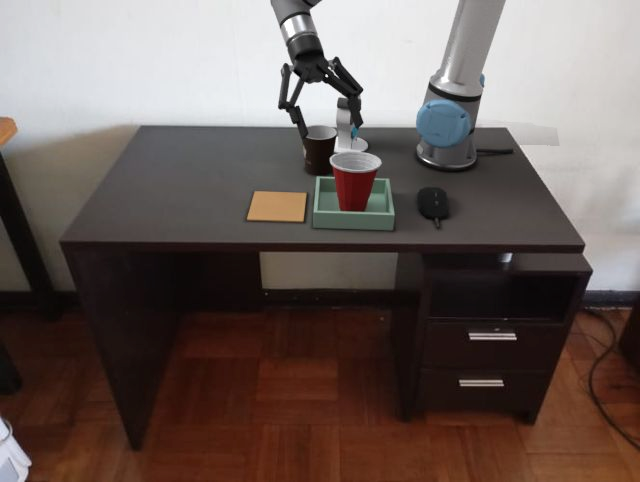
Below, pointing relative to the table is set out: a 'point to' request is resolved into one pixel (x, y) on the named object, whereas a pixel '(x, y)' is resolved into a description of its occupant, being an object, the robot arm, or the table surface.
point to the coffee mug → (319, 149)
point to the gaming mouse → (433, 203)
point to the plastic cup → (354, 178)
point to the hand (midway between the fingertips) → (333, 131)
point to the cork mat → (277, 207)
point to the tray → (373, 217)
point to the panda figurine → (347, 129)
